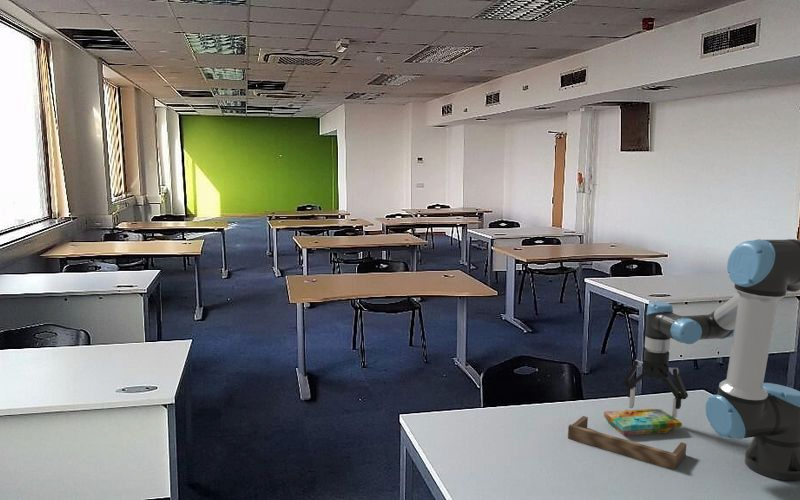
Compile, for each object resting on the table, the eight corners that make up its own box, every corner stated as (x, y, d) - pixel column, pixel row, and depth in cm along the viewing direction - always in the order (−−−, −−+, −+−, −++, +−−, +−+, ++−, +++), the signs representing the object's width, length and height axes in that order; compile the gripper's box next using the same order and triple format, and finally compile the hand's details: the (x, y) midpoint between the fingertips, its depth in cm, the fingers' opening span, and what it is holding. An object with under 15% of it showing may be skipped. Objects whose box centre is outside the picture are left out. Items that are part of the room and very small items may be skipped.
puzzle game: (604, 409, 203) (660, 405, 207) (603, 423, 204) (659, 419, 208) (623, 424, 192) (682, 420, 196) (622, 438, 192) (681, 434, 196)
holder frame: (685, 455, 181) (686, 442, 181) (674, 469, 173) (675, 455, 172) (582, 426, 200) (583, 414, 200) (567, 438, 192) (568, 425, 191)
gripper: (701, 354, 198) (696, 418, 201) (622, 340, 214) (618, 399, 217) (695, 360, 192) (689, 426, 195) (614, 344, 208) (610, 406, 211)
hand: (652, 412), depth 206 cm, fingers open, 13 cm apart
